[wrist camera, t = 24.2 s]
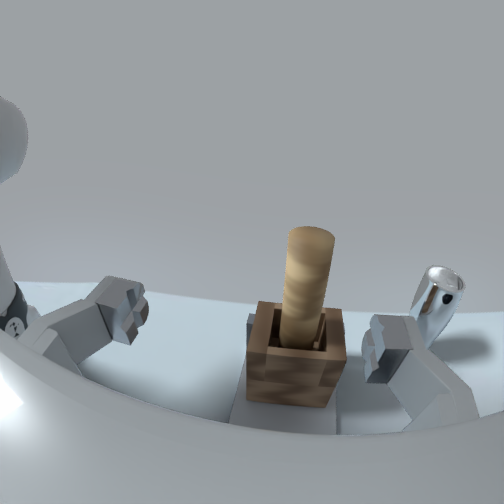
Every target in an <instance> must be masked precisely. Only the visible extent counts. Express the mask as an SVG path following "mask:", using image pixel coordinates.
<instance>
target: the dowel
mask: <svg viewBox="0 0 504 504" xmlns="http://www.w3.org/2000/svg"><path fill="white" fill-rule="evenodd" d="M334 241H335V237H334V236H333V235H332V234H331V233H330V232H328V231H326V230H324V229H321V228H317V227H309V226H307V227H306V226H304V227H297V228H294V229H292V230H291V231H290V232H289V236H288V249H287V261H286V272H285V283H284V294H283V304H282V314H281V324H280V333H279V342H278V348H286V349H296V350H307V351H312V350H313V346H314V342H315V337H316V333H317V329H318V325H319V320H320V316H321V311H322V306H323V301H324V297H325V292H326V287H327V282H328V276H329V271H330V266H331V260H332V254H333V248H334Z"/></svg>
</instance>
